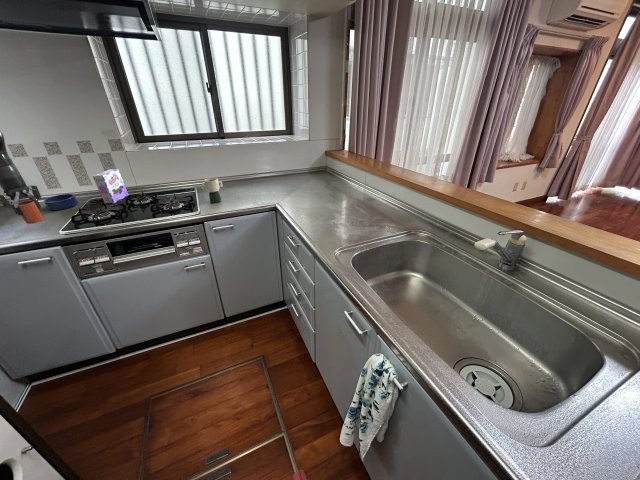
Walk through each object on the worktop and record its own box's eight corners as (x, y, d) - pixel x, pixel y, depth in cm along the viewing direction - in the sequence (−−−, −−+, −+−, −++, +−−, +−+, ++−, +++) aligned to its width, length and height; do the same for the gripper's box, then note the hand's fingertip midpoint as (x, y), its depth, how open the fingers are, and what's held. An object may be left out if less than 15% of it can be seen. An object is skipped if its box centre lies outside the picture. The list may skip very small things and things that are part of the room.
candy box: (114, 203, 153) (102, 175, 145) (104, 203, 153) (91, 175, 145) (129, 195, 165) (119, 168, 157) (120, 195, 165) (109, 168, 157)
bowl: (43, 212, 144) (38, 203, 141) (56, 203, 155) (51, 195, 152) (72, 209, 147) (67, 200, 145) (82, 200, 158) (78, 192, 156)
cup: (23, 224, 121) (11, 206, 116) (31, 219, 126) (20, 201, 121) (39, 222, 122) (28, 204, 118) (47, 217, 127) (36, 199, 123)
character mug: (224, 197, 159) (220, 176, 152) (226, 201, 153) (222, 179, 147) (205, 201, 155) (199, 179, 148) (206, 205, 149) (201, 182, 143)
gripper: (21, 170, 120) (40, 205, 128) (-21, 180, 108) (4, 217, 116) (33, 171, 119) (52, 206, 127) (-7, 181, 106) (17, 219, 115)
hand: (29, 211), depth 122 cm, fingers closed on cup, 6 cm apart
